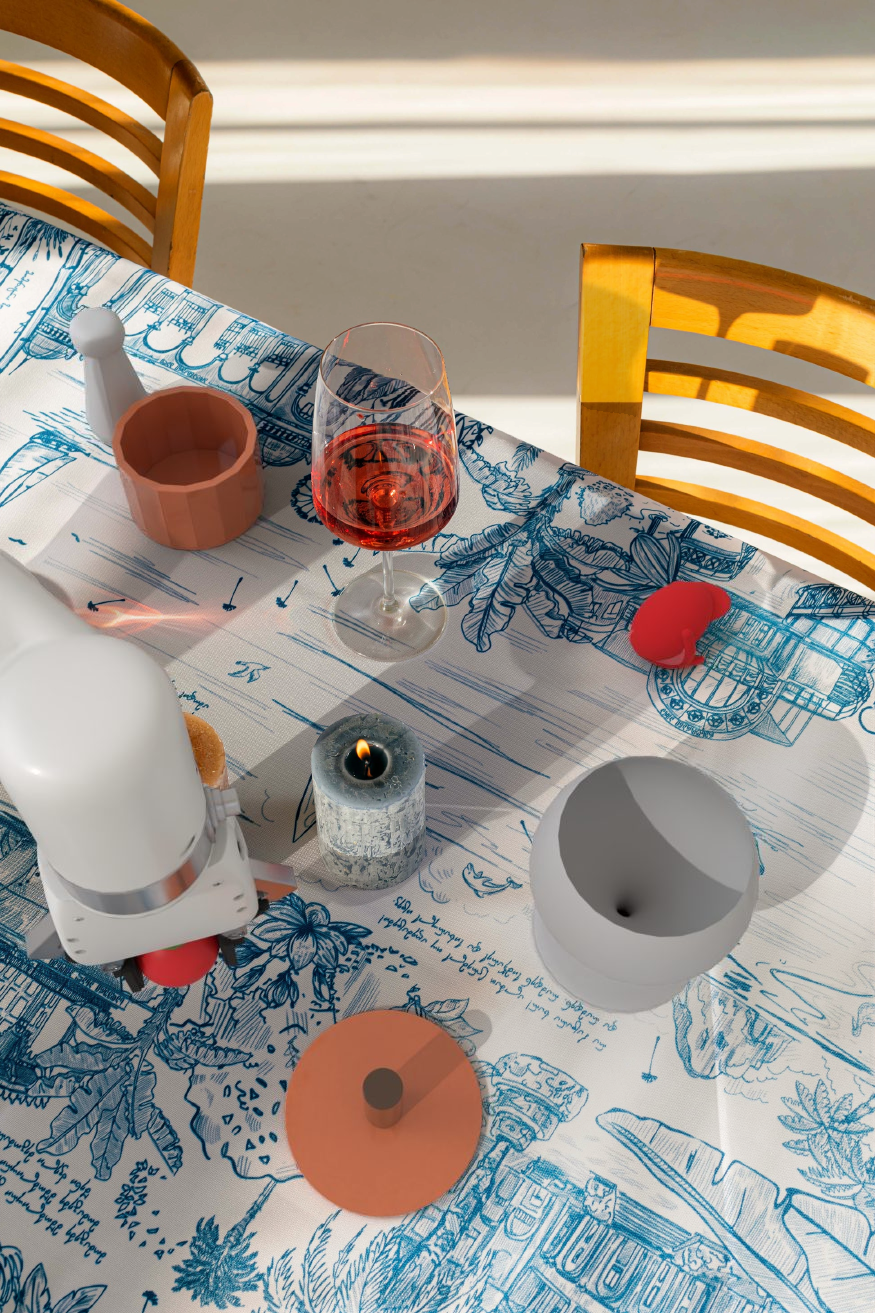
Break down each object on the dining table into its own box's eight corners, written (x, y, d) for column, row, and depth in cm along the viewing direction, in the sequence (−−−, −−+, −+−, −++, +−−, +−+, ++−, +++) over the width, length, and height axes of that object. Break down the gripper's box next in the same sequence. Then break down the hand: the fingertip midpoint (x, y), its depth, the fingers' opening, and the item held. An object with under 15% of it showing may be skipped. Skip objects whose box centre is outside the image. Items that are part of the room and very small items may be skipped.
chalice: (751, 906, 84) (814, 816, 71) (655, 1075, 78) (706, 1009, 65) (580, 802, 88) (611, 699, 75) (475, 955, 81) (490, 870, 69)
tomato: (132, 995, 70) (116, 967, 66) (148, 913, 73) (134, 881, 68) (217, 1001, 70) (207, 974, 66) (230, 919, 73) (221, 888, 68)
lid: (273, 1212, 73) (263, 1195, 67) (298, 1008, 79) (290, 977, 74) (477, 1226, 72) (484, 1210, 67) (484, 1021, 79) (491, 991, 74)
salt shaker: (136, 399, 108) (107, 284, 97) (171, 436, 106) (145, 323, 95) (80, 429, 106) (43, 315, 95) (114, 467, 104) (80, 355, 93)
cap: (662, 696, 93) (677, 655, 88) (609, 645, 95) (621, 602, 90) (733, 643, 96) (751, 600, 91) (679, 595, 98) (695, 550, 93)
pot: (117, 545, 99) (98, 486, 93) (143, 443, 105) (127, 381, 99) (254, 554, 99) (245, 496, 93) (272, 451, 105) (264, 389, 99)
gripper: (290, 721, 59) (306, 861, 75) (-66, 804, 56) (28, 933, 71) (327, 858, 55) (336, 976, 71) (-53, 956, 52) (43, 1057, 68)
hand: (181, 953), depth 71 cm, fingers closed on tomato, 4 cm apart
